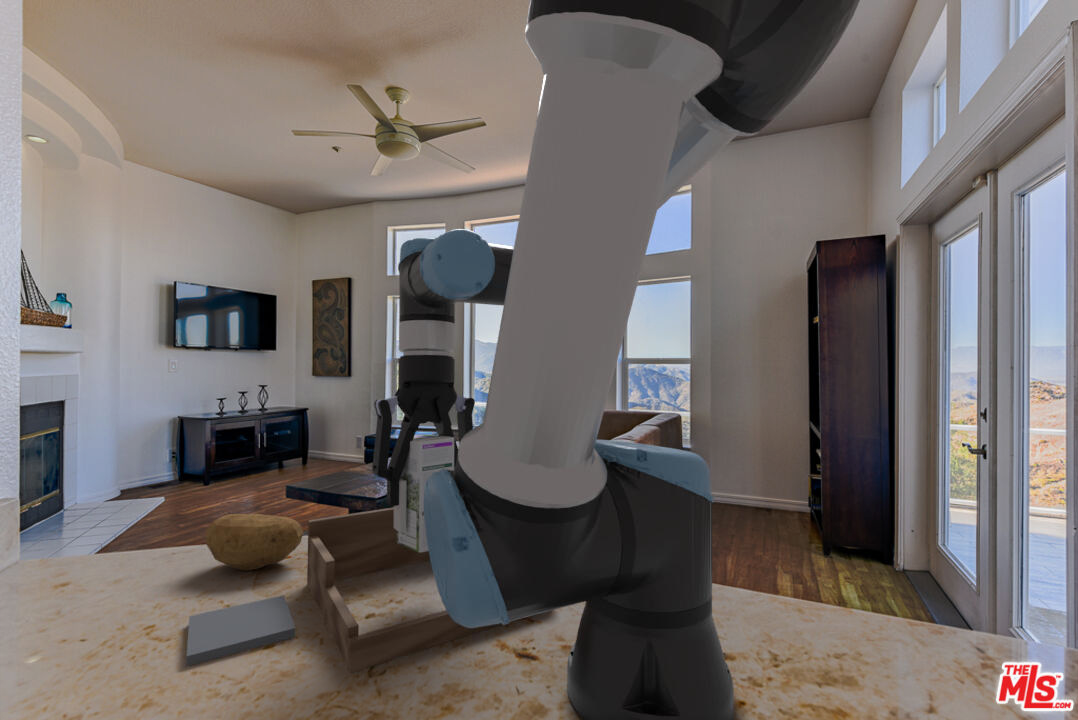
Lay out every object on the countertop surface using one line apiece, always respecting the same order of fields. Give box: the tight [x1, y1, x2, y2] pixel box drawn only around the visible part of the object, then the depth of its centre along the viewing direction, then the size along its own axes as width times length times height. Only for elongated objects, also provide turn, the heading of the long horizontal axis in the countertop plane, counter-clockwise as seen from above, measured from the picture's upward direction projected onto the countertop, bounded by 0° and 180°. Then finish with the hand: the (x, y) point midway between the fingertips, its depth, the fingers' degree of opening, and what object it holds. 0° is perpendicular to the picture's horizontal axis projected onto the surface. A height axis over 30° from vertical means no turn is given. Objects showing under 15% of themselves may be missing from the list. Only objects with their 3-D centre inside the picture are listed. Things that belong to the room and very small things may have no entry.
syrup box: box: [397, 433, 455, 553], centre depth 66 cm, size 6×6×14 cm
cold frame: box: [306, 506, 502, 674], centre depth 66 cm, size 25×25×9 cm
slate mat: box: [186, 594, 296, 667], centre depth 57 cm, size 10×10×1 cm
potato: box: [204, 513, 304, 571], centre depth 76 cm, size 10×14×8 cm
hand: (425, 524), depth 66 cm, fingers closed on syrup box, 6 cm apart
